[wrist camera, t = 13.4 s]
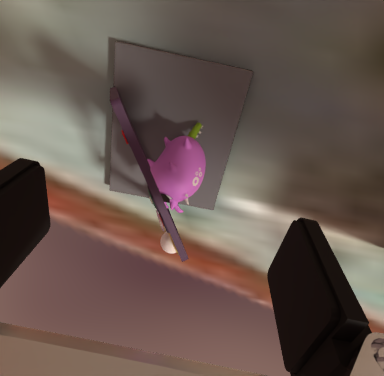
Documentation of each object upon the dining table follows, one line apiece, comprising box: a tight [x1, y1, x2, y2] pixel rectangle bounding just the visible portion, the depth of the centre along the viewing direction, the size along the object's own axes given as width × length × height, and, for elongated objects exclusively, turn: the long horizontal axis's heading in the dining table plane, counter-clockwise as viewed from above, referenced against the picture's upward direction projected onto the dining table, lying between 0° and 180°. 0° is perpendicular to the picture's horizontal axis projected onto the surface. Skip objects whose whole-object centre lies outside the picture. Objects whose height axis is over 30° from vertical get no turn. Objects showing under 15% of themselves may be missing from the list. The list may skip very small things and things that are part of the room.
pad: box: [110, 41, 253, 210], centre depth 18 cm, size 8×10×1 cm
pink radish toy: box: [110, 87, 206, 262], centre depth 15 cm, size 7×5×9 cm
